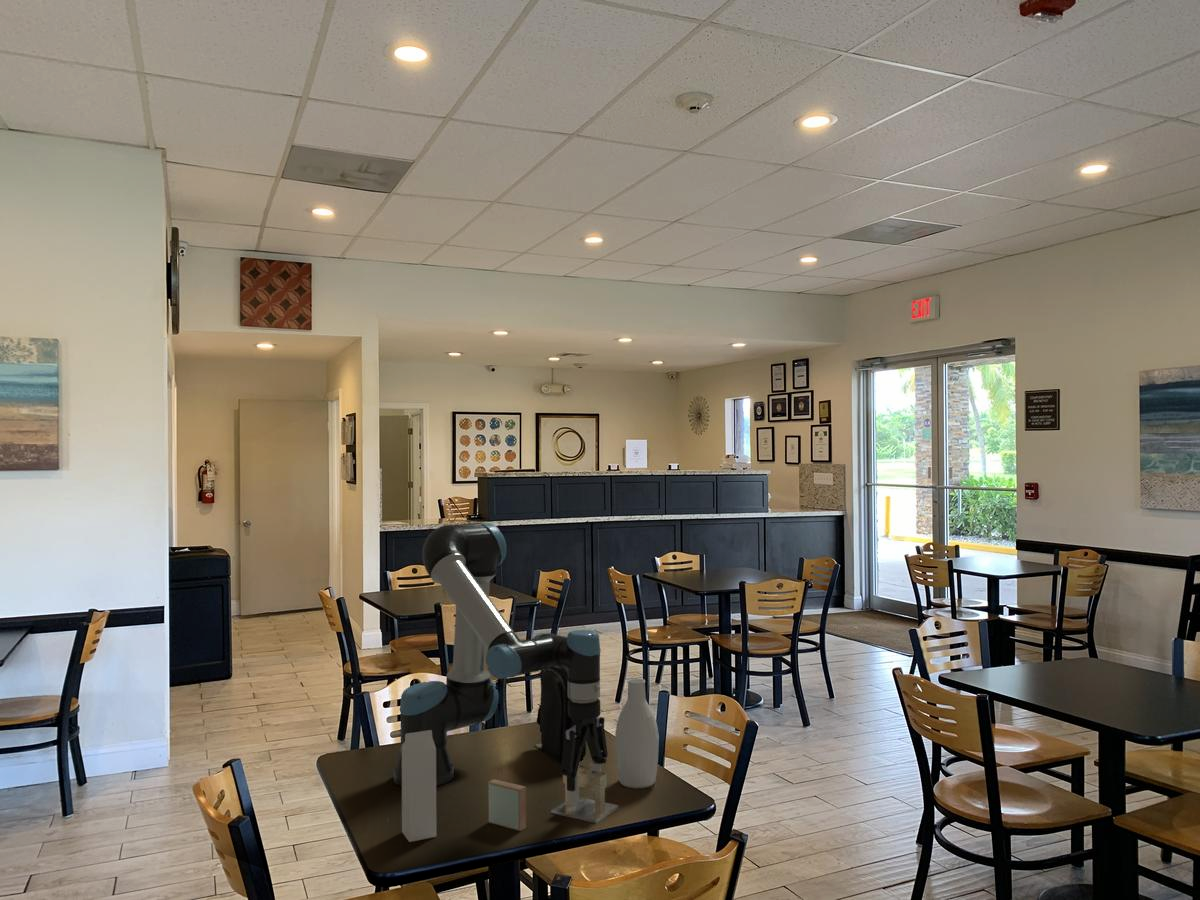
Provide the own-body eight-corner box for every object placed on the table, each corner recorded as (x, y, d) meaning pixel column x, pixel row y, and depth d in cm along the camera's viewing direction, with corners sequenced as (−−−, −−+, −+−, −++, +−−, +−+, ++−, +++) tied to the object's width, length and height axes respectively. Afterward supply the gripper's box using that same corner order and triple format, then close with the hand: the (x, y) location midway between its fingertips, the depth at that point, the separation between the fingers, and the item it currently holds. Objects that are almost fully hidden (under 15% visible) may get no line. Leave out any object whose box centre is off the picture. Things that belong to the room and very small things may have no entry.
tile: (487, 822, 194) (487, 782, 195) (494, 819, 196) (494, 779, 196) (519, 831, 189) (519, 789, 190) (526, 828, 191) (525, 786, 192)
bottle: (662, 776, 223) (661, 676, 224) (655, 791, 212) (654, 686, 213) (620, 773, 226) (619, 674, 226) (610, 788, 215) (610, 684, 215)
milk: (401, 832, 190) (400, 730, 190) (429, 827, 192) (427, 726, 193) (409, 842, 184) (408, 737, 185) (437, 836, 187) (436, 733, 188)
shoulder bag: (596, 764, 233) (595, 659, 233) (565, 769, 229) (564, 662, 229) (564, 741, 253) (563, 644, 254) (534, 745, 249) (533, 647, 250)
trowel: (551, 813, 200) (551, 774, 200) (574, 799, 208) (574, 761, 209) (596, 823, 194) (595, 783, 194) (618, 808, 202) (618, 769, 202)
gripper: (570, 712, 191) (571, 816, 190) (622, 691, 209) (623, 786, 208) (543, 707, 195) (544, 809, 194) (595, 687, 213) (596, 780, 212)
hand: (584, 797), depth 201 cm, fingers open, 9 cm apart
